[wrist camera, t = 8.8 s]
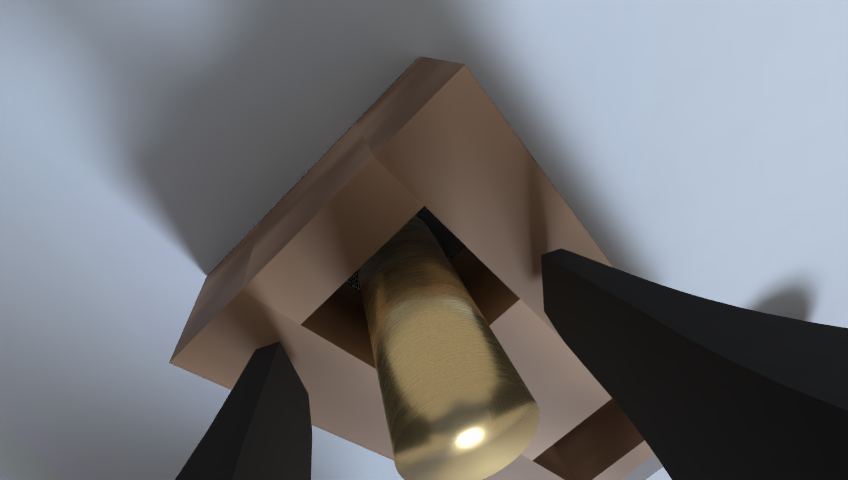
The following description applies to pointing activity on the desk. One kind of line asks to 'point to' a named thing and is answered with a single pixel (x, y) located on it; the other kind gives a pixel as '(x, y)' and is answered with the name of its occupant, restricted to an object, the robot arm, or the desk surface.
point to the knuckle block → (475, 264)
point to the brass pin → (440, 366)
